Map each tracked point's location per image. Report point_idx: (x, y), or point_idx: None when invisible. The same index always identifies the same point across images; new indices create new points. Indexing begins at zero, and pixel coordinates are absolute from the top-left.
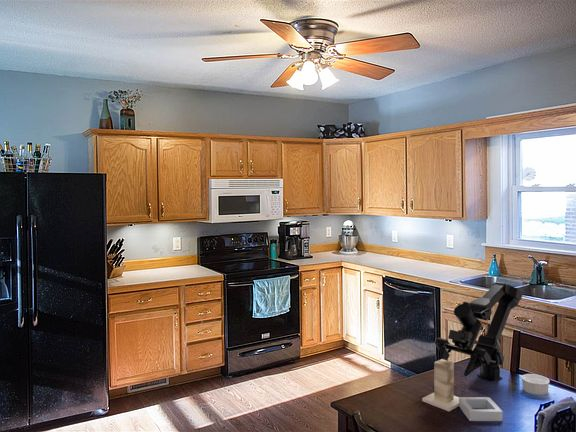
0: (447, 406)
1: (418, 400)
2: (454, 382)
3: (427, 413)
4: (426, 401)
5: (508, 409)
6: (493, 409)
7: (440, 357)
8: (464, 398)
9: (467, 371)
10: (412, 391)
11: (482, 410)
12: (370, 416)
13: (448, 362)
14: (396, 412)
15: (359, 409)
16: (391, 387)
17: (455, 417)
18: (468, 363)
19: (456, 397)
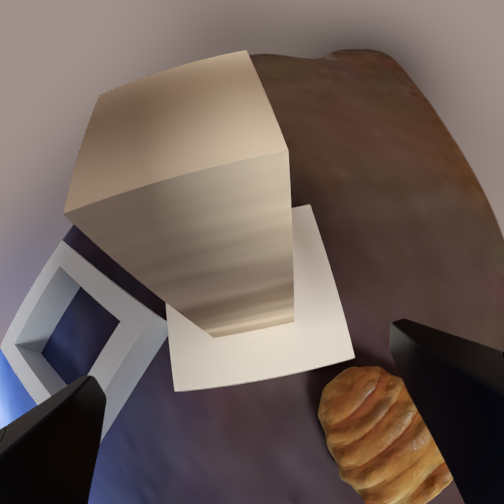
0: None
1: (323, 204)
2: (363, 500)
3: None
4: None
5: None
6: (17, 335)
7: (497, 355)
8: (126, 326)
9: (53, 399)
10: (417, 243)
11: (36, 290)
12: (289, 62)
13: (119, 150)
14: (275, 103)
15: (335, 61)
16: (468, 194)
17: None
18: (9, 448)
19: (220, 371)
